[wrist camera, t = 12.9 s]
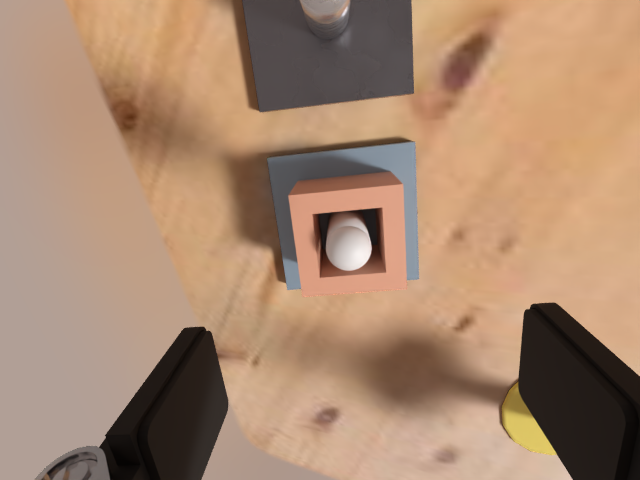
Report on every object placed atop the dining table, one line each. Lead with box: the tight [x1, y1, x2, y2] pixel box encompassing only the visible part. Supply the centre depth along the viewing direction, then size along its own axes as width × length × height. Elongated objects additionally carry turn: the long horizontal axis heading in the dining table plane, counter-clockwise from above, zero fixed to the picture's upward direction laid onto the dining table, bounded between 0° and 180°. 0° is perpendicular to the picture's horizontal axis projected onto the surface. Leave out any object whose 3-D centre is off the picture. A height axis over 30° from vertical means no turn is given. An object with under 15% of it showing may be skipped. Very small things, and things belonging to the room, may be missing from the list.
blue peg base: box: [267, 141, 419, 290], centre depth 23 cm, size 10×10×8 cm
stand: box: [242, 0, 414, 112], centre depth 19 cm, size 10×10×7 cm
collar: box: [288, 171, 407, 297], centre depth 23 cm, size 6×6×5 cm
